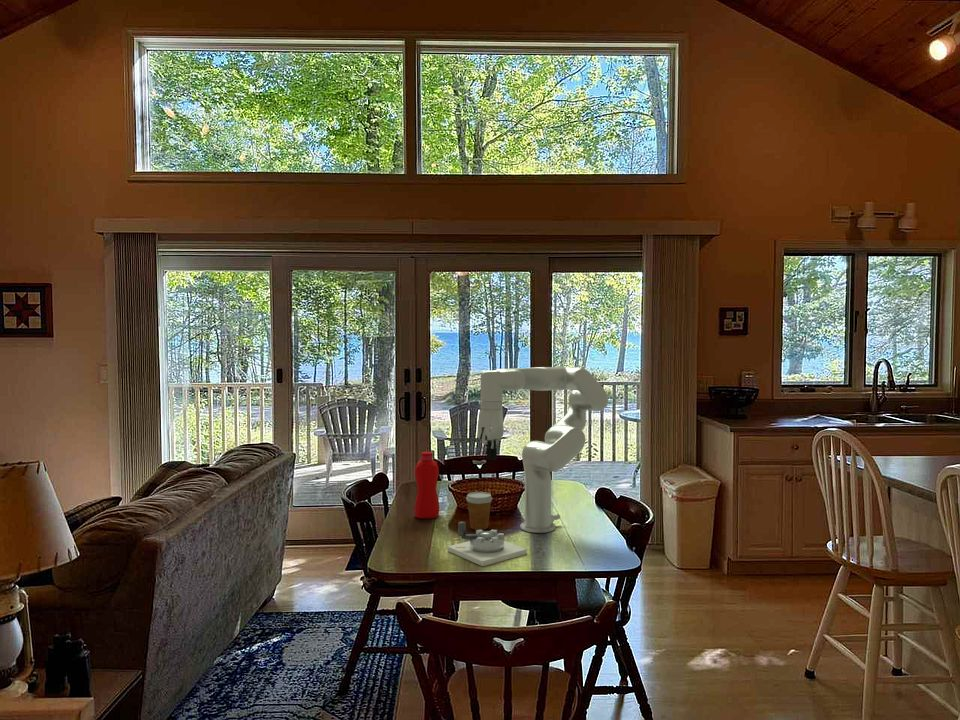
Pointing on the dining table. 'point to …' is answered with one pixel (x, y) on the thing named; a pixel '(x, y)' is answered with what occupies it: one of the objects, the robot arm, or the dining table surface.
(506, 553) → the base plate
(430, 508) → the water bottle
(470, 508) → the disposable coffee cup
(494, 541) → the silver lever knob
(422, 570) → the dining table surface
